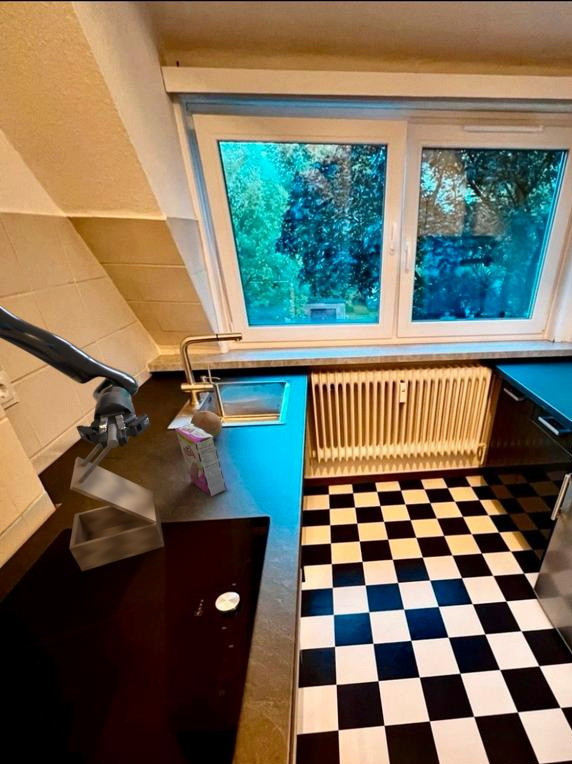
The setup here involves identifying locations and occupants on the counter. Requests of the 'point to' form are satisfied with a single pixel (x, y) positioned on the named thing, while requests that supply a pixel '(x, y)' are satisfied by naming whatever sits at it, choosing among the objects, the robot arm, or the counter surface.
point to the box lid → (111, 484)
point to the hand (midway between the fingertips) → (113, 443)
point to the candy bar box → (201, 459)
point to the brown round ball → (208, 422)
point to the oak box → (112, 536)
